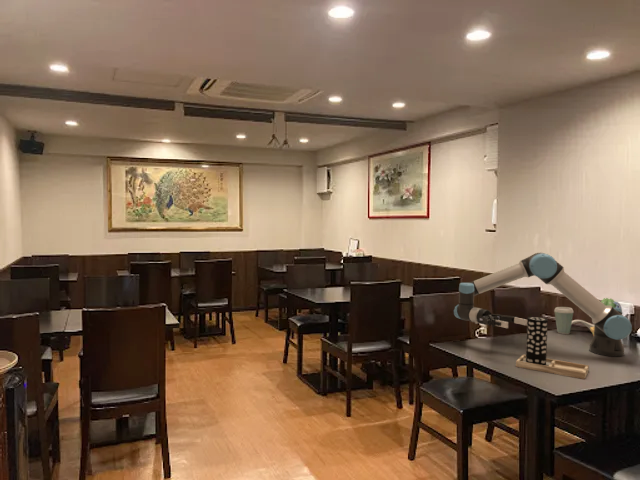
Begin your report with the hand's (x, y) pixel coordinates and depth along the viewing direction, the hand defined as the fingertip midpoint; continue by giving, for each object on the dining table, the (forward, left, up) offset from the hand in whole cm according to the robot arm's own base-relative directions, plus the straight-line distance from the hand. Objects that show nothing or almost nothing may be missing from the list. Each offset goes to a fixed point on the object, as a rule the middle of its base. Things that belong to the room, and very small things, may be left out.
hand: (517, 323), depth 223 cm
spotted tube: (+4, +9, -16) cm, 19 cm away
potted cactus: (-65, +31, -17) cm, 74 cm away
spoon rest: (-93, +20, -17) cm, 96 cm away
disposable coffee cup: (-80, +8, -17) cm, 82 cm away
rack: (+4, +16, -17) cm, 24 cm away
